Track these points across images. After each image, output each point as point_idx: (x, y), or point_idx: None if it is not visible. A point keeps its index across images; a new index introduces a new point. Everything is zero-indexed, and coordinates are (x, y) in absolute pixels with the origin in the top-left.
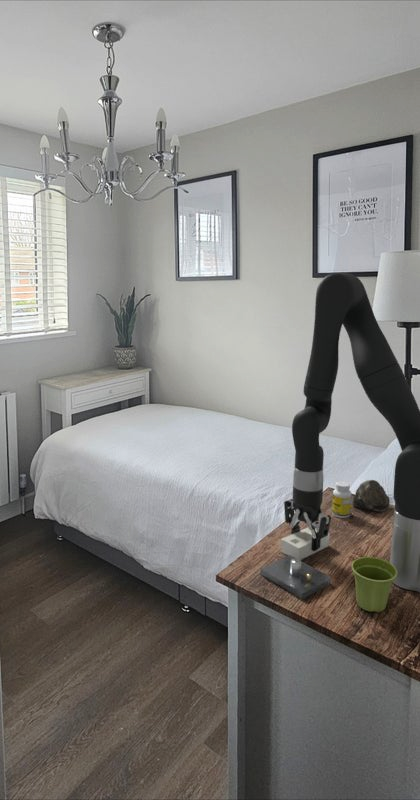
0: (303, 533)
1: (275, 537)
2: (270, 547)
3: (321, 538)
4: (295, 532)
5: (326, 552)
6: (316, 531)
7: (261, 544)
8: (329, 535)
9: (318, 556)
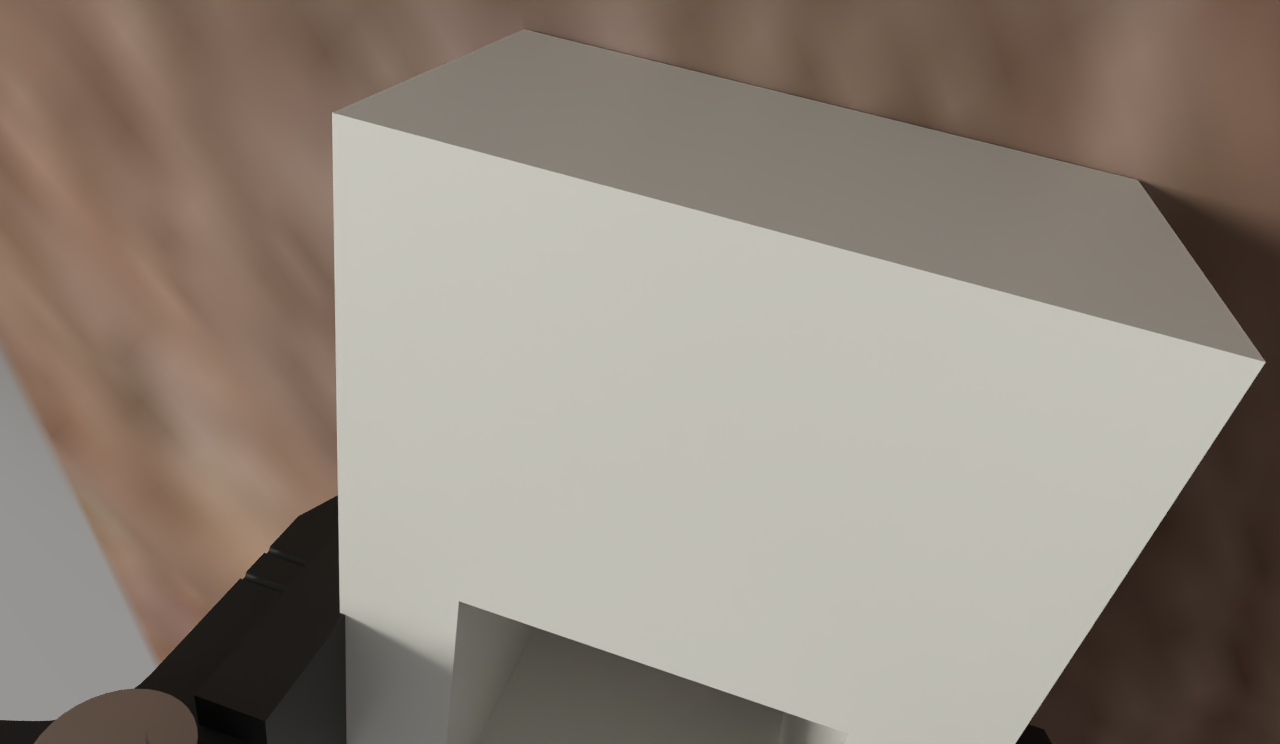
0: (468, 621)
1: (106, 444)
2: None
3: (1028, 684)
4: (340, 739)
5: None
6: (704, 436)
7: None
8: (1235, 332)
9: None
